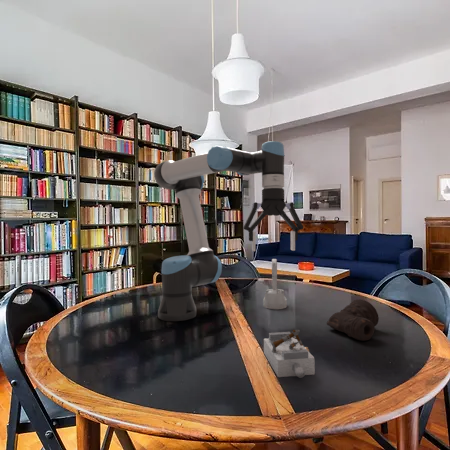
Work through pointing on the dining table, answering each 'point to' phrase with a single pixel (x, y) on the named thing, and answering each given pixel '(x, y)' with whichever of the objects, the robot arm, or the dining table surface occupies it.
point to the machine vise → (288, 357)
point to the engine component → (274, 292)
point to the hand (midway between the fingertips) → (273, 250)
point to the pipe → (356, 320)
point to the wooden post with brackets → (284, 339)
